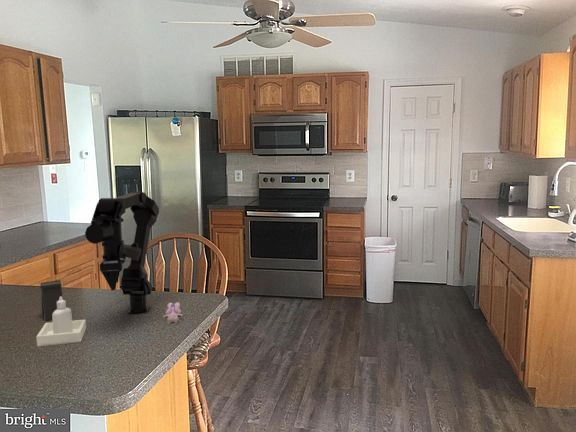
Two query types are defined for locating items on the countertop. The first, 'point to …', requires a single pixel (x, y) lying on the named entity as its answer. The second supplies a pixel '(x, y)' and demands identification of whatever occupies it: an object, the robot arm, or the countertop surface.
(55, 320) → the eye dropper bottle
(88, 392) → the countertop surface
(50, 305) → the phone stand
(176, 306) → the pink creature figurine
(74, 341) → the tray
